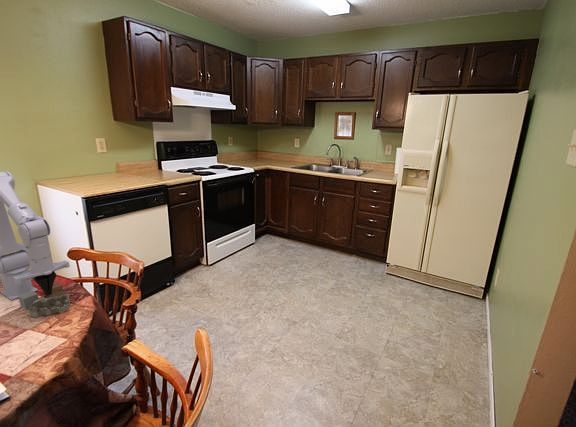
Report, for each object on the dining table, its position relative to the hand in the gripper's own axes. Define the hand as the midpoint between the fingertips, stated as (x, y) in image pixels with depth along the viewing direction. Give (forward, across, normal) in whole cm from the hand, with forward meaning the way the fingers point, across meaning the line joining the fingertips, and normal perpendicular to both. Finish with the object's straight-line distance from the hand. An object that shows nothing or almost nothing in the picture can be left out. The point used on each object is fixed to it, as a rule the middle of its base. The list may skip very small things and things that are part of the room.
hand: (48, 294), depth 102 cm
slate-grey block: (+6, -2, +9) cm, 11 cm away
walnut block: (+6, +5, +9) cm, 12 cm away
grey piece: (+6, 0, 0) cm, 6 cm away
